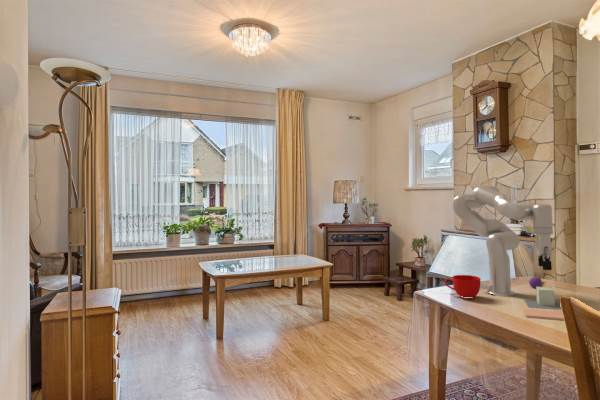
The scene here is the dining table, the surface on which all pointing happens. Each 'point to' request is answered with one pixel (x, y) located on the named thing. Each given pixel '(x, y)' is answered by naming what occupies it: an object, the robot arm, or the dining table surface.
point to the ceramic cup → (465, 285)
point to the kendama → (535, 282)
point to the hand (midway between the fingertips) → (544, 268)
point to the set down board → (543, 314)
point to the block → (545, 296)
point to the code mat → (535, 304)
